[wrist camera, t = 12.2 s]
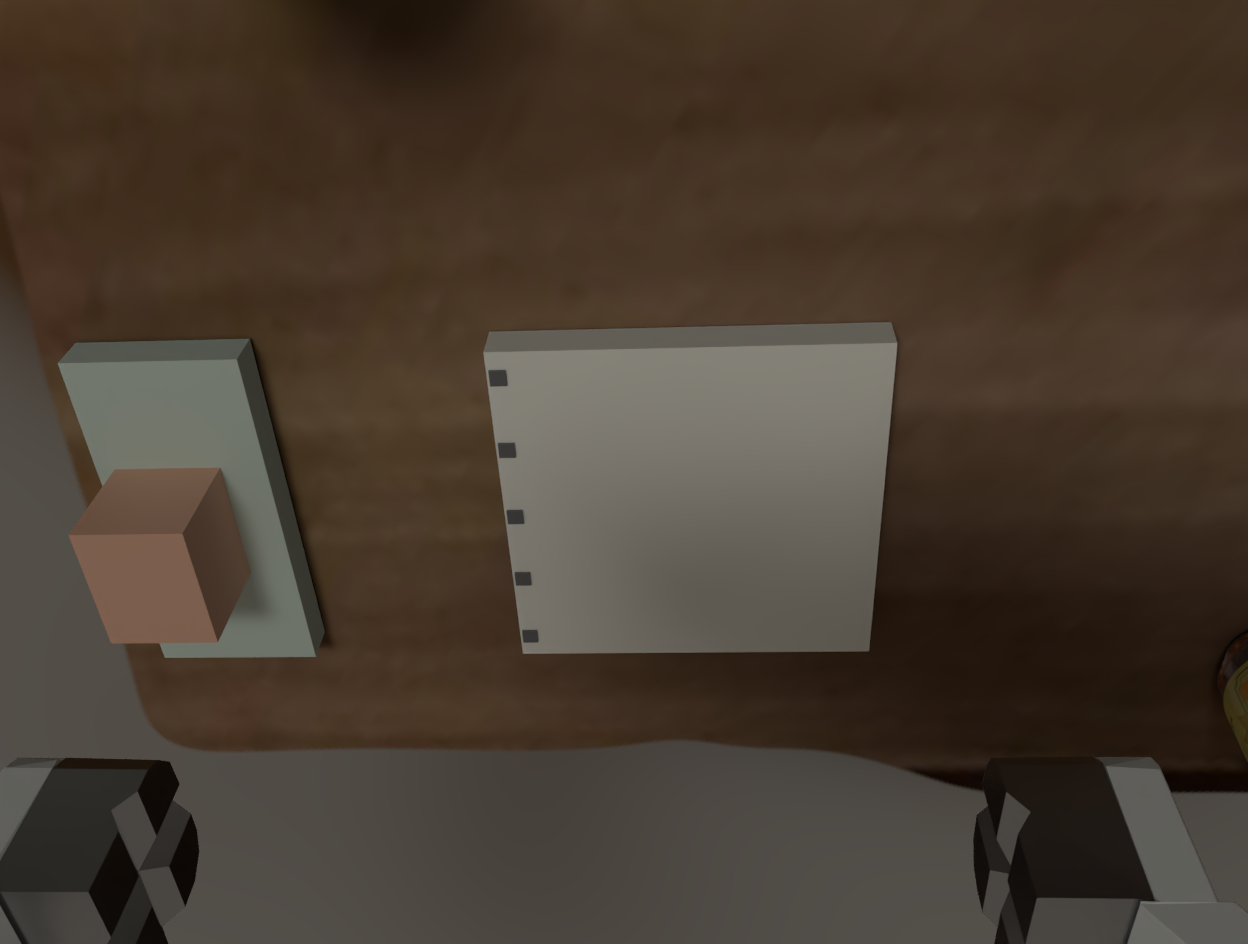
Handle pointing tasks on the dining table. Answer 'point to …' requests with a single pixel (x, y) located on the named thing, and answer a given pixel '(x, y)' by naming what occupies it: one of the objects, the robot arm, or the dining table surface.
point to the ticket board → (693, 484)
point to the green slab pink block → (188, 502)
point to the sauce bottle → (1236, 689)
